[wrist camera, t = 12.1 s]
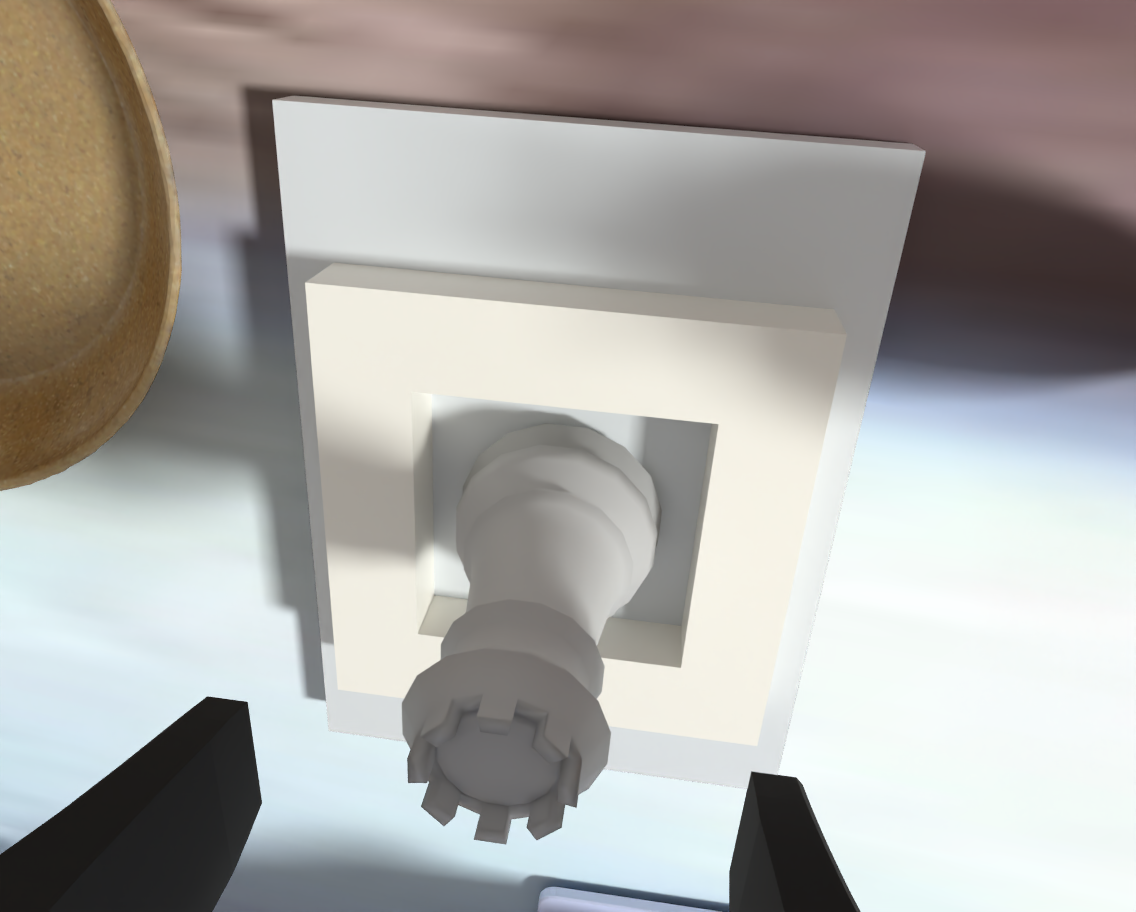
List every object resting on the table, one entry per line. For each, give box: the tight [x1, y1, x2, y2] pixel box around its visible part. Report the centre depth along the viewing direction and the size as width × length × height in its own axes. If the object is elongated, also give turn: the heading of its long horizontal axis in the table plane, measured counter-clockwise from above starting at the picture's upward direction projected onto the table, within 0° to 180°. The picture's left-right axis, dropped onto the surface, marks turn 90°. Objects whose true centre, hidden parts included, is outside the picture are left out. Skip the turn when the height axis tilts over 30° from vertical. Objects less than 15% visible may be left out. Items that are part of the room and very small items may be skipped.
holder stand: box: [272, 95, 926, 789], centre depth 19 cm, size 16×12×2 cm
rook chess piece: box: [402, 423, 662, 844], centre depth 16 cm, size 4×4×8 cm
